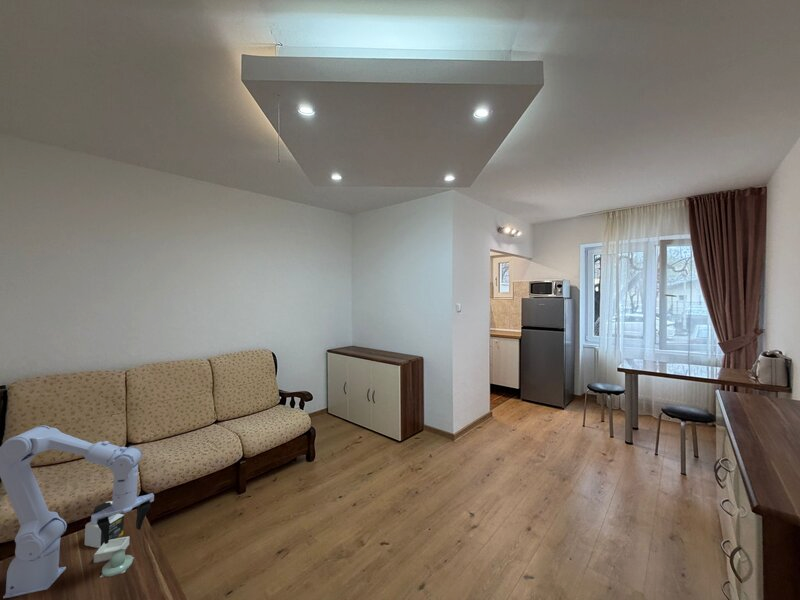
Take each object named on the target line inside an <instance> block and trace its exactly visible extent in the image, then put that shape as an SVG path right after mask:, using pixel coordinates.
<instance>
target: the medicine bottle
mask: <svg viewBox="0 0 800 600" xmlns="http://www.w3.org/2000/svg"><path fill="white" fill-rule="evenodd" d="M110 506H112V500H111V501H105V502H103V503H101V504H99V505H97V506H96V507H95V508H94V509H93V514H96V513H98V512H100V511H102V510H104V509H106V508H108V507H110ZM108 519H109V522H110V526H109V540H111V539H117V538H120V537H122V535H124V523H125V513H118V514H116V515H113V516H110V517H108ZM84 527H85V529H84V546H86V547H92V548H95V549H99V548H100V547H101V546H102V545H103V543H104V539H103V534H102V531H101V529H100V528H99V526H98V525H97V523H95V524H92V523H91V521H89V522H87V523H86V524H85V525H84Z"/></svg>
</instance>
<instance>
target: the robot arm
mask: <svg viewBox="0 0 800 600" xmlns="http://www.w3.org/2000/svg"><path fill="white" fill-rule="evenodd" d="M50 450H55V451H60V452H65V453H70V454H73V455H79V456H83V457H84V460H85V462H88V463H92V464H95V465H99V466H103V467H107V468H109V470H110V471H111V472H112V474H113V486H112V487H113V488H112V500H111V501H112V506H110V507H108V508H106V509H104V510H102V511H100V512H98V513H96V514H94V513H93V514H91V516H90V517H91V518H90V522H91V523H92V524H95V523H97V525H98V526H99V528H100V529H101V531H102V534H103V539H104V543H105V544H107V543H108V541H109V526H110V522H109V519H108V517H110V516H113V515H116V514H118V513H119V514H126V513H128V512H131V511H132V510H133V509H134V508H136V523H135V527H136V529H137V531H139V530H141V529H142V525H143V523H144V520H145V518H146V515H147V513H148V512H149V511H150V509H151V503H152V502H154V501H155V494H154V493H153V492H152V493H148V494H145V495H140V496H138V483H139V482H138V481H139V480H138V479H139V478H138V477H139V462H140V461H141V460H142V458H143V452H142V450H141V449H140V448H138V447H136V446H129V447H126V446H118V445H114V444H112V443H110V441H108V440H104V441H98V442H95V443H93V442H89V441H87V440H83V439H81V438H78V437H75V436H72V435H70V434H67V433H64V432H61V430H59V429H58V428H55V427H51V426H48V425H44V424H43V425H37V426H34V427H33V428H31V429H29V430H27V431H24V432H22V433H20V434H18V435H15V436H12V437H10V438H8V439H6V440H5V441H4V442H3V443H2V444H1V445H0V480H1V482H2V485H3V487H4V489H5V491H6V494H7V496H8V499H9V501H10V503H11V506H12V508H13V511H14V513H15V516H16V517H17V521H18V523H19V525H20V527H19V530H18V531H17V534H16V536H15V538H14V542H15V550H14V554H15V557H14V558H13V559H12V560H11V562H10V564H9V565H8V569H7V572H6V582H5V583H6V584H5V594H4V595H3V596H2V598H3V599H7V598H8V599H9V598H13V597H19V596H22V595H25V594H31V593H35V592H41V591H45V590H48V589H49V588H50V587H51V586H52V585H53V583H54V582H55V581H56V580H57V579H58V578H59V577H60V576H61V574H62V573H64V571H65V570H66V569H67V566H61V567H60V566H59V565H60V564H59V563H60V546H61V538H62V537H61V536H62V535H64V533H65V532H66V531H67V527H68V524H67V522H66V520H64V519H63V518H62V517H60V516H59V513H58V512H57V511H50V510H49V508H48V505H47V503H46V500H45V498H44V496H43V493H42V491H41V489H40V487H39V484H38V481H37V479H36V476H35V474H34V471H33V469H32V467H31V461H33V460H34V458H35V457H36V455H38V454H40V453H43V452H46V451H50Z"/></svg>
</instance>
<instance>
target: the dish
mask: <svg viewBox="0 0 800 600" xmlns="http://www.w3.org/2000/svg"><path fill="white" fill-rule="evenodd" d="M129 546H130V536H123V537H122V536H121V537H118V538H116V539H111V540H109V541H108V543H107V544H105V543H103V545H102V546H101V547H100V548H97V551H95V553H94V554H93V564H99V563H104V562H109V561H110V560H111V555H112V553H114V552H115V551H117V550H120V549H125V551H126V549H127V548H128V547H129Z"/></svg>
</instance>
